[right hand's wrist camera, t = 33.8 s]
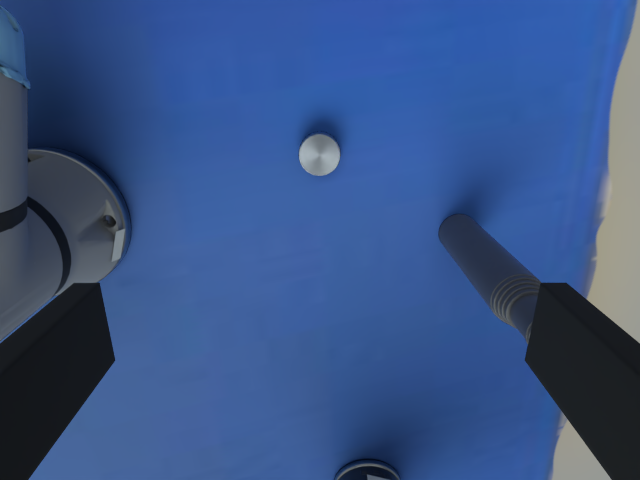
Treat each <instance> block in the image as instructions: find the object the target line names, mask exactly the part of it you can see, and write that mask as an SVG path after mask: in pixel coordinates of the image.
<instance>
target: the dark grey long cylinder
mask: <svg viewBox="0 0 640 480" xmlns="http://www.w3.org/2000/svg"><path fill="white" fill-rule="evenodd" d="M439 239H440V241H441V243H442V244H443V246H444V247H445V248H446V250H447V251H448V252H449V254H450V255H451V256H452V258H453V259H454V260H455V262H456V263H457V264H458V266H459V267H460V268H461V270H462V271H463V272H464V274H465V275H466V277H467V278H468V279H469V281H470V282H471V283H472V285H473V286H474V287H475V289H476V290H477V291H478V293H479V294H480V295H481V297H482V298H483V299H484V301H485V302H486V303H487V305H488V306H489V307H490V309H491V310H492V312H493V313H494V314H495V315H496V316H497V317H498V318H499V319H500V320H502V321H503V322H505V323H507V324H509V325H510V326H512V327H514V328H516V329H518V330H519V332H520V333H521V334H522V335H523V337H524V338H525V339H526V342H527V344H528V342H529V337H530V332H531V327H532V322H533V317H534V312H535V307H536V303H537V298H538V293H539V288H540V283H541V282H540V281H539V280H538V279H537V278H536V277H535V276H534V275H533V274H532V273H531V272H530V271H529V270H527V269H526V268H525V267H524V266H523V265H522V264H521V263H520V262H519V261H518V260H517V259H515V258H514V257H513V256H512V255H511V254H510V253H509V252H508V251H507V250H506V249H505V248H503V247H502V246H501V245H500V244H499V243H498V242H497V241H496V240H495V239H494V238H493V237H491V236H490V235H489V234H488V233H487V232H486V231H485V230H484V229H483V228H482V227H481V226H479V225H478V224H477V223H476V222H475V221H474V220H473V219H472V218H471V217H469V216H467V215H464V214H455V215H452V216H450V217H448V218H447V219H446V220H444V221H443V223H442V224H441V226H440V228H439Z"/></svg>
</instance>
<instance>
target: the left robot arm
mask: <svg viewBox="0 0 640 480" xmlns="http://www.w3.org/2000/svg"><path fill="white" fill-rule="evenodd" d="M334 480H400V477H399V475H398V473H397V472H396V470H395V469H394V468H392V467H391V466H390V465H388V464H386V463H384V462H381V461H377V460H360V461H356V462H353V463H350V464H348V465H346V466H345V467H343V468H342V469H341V470H340V471H339V472H338V473H337V475H336V477H335V479H334Z"/></svg>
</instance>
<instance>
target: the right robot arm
mask: <svg viewBox="0 0 640 480" xmlns="http://www.w3.org/2000/svg"><path fill="white" fill-rule="evenodd" d="M28 89H31V84H30V82H29V80H28V79H27V77H26V60H25V44H24V35H23V31H22V29H21V26H20V25H19V23H18V21H17V20H16V19H15V17H14V16H13V15H12V14H11V13H10V12H9V11H7V10H6V9H5V8H4V7H2V6H1V5H0V341H1V340H2V339H3V338H5V337H6V336H7V335H8V334H9V333H10V332H12V331H13V330H14V329H15V328H16V327H18V326H19V325H20V324H21V323H22V322H23V321H25V320H26V319H27V318H28V317H29V316H31V315H32V314H33V313H34V312H35V311H37V310H38V309H39V308H40V307H41V306H42V305H44V304H45V303H46V302H47V301H48V300H49V299H51V298H52V297H53V296H56V295H58V296H57V297H56V298H55V299H54V300H52V301H51V302H50V303H49V304H48V305H46V306H45V307H44V308H43V309H42V310H40V311H39V312H38V313H37V314H35V315H34V316H33V317H32V318H31V319H29V320H28V321H27V322H26V323H25V324H23V325H22V326H21V327H20V328H19V329H17V330H16V331H15V332H14V333H12V334H11V335H10V336H9V337H8V338H6V339H5V340H4V341H3V342H2V343H0V480H28V479H29V478H30V477H31V475H32V474H33V472H34V471H35V470H36V468H37V467H38V466H39V464H40V463H41V461H42V460H43V459H44V457H45V456H46V455H47V453H48V452H49V450H50V449H51V448H52V446H53V445H54V444H55V442H56V441H57V439H58V438H59V437H60V435H61V434H62V433H63V431H64V430H65V428H66V427H67V426H68V424H69V423H70V422H71V420H72V419H73V418H74V416H75V415H76V413H77V412H78V411H79V409H80V408H81V407H82V405H83V404H84V402H85V401H86V400H87V398H88V397H89V396H90V394H91V393H92V391H93V390H94V389H95V387H96V386H97V385H98V383H99V382H100V380H101V379H102V378H103V376H104V375H105V374H106V372H107V371H108V370H109V368H110V367H111V365H112V364H113V363H114V361H115V357H114V352H113V347H112V342H111V337H110V332H109V327H108V322H107V317H106V312H105V307H104V303H103V298H102V293H101V288H100V283H97V282H98V281H100V280H102V279H103V278H104V277H106V276H107V275H108V274H109V273H110V272H111V271H112V270H113V269H114V268H115V267H116V266H117V265H118V264H119V263H120V262H121V260H122V259H123V257H124V256H125V254H126V252H127V249H128V246H129V242H130V237H131V222H130V216H129V212H128V209H127V206H126V203H125V201H124V199H123V197H122V195H121V193H120V192H119V190H118V188H117V187H116V186H115V184H114V183H113V182H112V181H111V179H110V178H109V177H108V176H107V175H106V174H105V173H104V172H103V171H102V170H100V169H99V168H98V167H97V166H95V165H94V164H93V163H91V162H90V161H88V160H86V159H84V158H83V157H81V156H78V155H76V154H74V153H71V152H68V151H65V150H61V149H56V148H47V147H39V148H30V149H28ZM59 294H60V295H59ZM525 361H526V363H527V364H528V365H529V367H530V368H531V370H532V371H533V372H534V374H535V375H536V376H537V378H538V379H539V380H540V382H541V383H542V385H543V386H544V387H545V389H546V390H547V391H548V393H549V394H550V396H551V397H552V398H553V400H554V401H555V402H556V404H557V405H558V407H559V408H560V409H561V411H562V412H563V413H564V415H565V416H566V418H567V419H568V420H569V422H570V423H571V424H572V426H573V427H574V428H575V430H576V431H577V433H578V434H579V435H580V437H581V438H582V439H583V441H584V442H585V444H586V445H587V446H588V448H589V449H590V450H591V452H592V453H593V454H594V456H595V457H596V459H597V460H598V461H599V463H600V464H601V466H602V467H603V468H604V470H605V471H606V472H607V474H608V475H609V476H610V478H611V479H612V480H640V343H638V342H637V341H636V340H635V339H634V338H632V337H631V336H630V335H629V334H628V333H626V332H625V331H624V330H623V329H621V328H620V327H619V326H618V325H617V324H615V323H614V322H613V321H612V320H611V319H609V318H608V317H607V316H606V315H605V314H603V313H602V312H601V311H600V310H598V309H597V308H596V307H595V306H594V305H592V304H591V303H590V302H589V301H588V300H586V299H585V298H584V297H583V296H582V295H580V294H579V293H578V292H577V291H575V290H574V289H573V288H572V287H571V286H569V285H568V284H567V283H540V288H539V293H538V298H537V303H536V307H535V312H534V317H533V322H532V327H531V332H530V337H529V342H528V347H527V352H526V357H525Z"/></svg>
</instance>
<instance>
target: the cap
mask: <svg viewBox="0 0 640 480" xmlns="http://www.w3.org/2000/svg"><path fill="white" fill-rule="evenodd" d="M340 156H341V155H340V148H339V144H338V143H337V140H335V139H334V137H332V136H331V134H328V133H327V132H326V133H325V132H322V131H321V132H318V131H317V132H313V133H311V134H309V135H308V136H307V137H305V139H304V140H303V141H302V144H301V145H300V148H299V161H300V163H301V165H302V167H303V168H304V169H305V170H306V171H307V172H309V173H310V174H313V175H317V176H322V175H326V174H329V173H331V172H332V171H333V170H334V169H335V168H336V167H337V165H338V163H339V161H340Z"/></svg>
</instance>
